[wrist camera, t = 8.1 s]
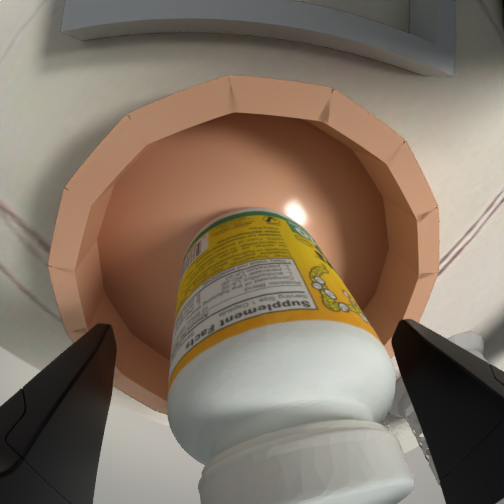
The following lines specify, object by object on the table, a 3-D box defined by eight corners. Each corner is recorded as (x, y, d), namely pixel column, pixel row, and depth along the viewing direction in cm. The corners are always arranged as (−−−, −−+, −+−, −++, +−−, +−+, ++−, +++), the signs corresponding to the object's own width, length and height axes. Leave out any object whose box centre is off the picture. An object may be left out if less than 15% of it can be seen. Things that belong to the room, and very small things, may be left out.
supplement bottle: (162, 227, 11) (93, 503, 3) (305, 187, 11) (494, 404, 3) (208, 335, 14) (220, 554, 5) (324, 303, 14) (419, 504, 5)
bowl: (420, 118, 11) (474, 129, 8) (353, 364, 17) (374, 408, 14) (77, 88, 9) (32, 87, 6) (111, 368, 15) (99, 417, 12)
